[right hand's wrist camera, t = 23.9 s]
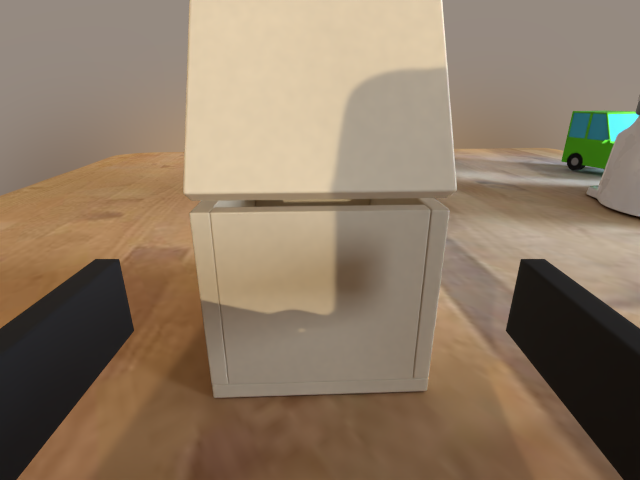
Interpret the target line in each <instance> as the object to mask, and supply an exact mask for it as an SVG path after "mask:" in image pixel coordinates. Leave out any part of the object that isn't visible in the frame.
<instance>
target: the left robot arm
mask: <svg viewBox="0 0 640 480" xmlns="http://www.w3.org/2000/svg"><path fill="white" fill-rule="evenodd" d="M638 101H639V102H638V106H637V109H636V114H637V115H639V116H638V118H637V119H636V120H635V122H634V123H633V124H632V125H631V126H630V127H628V128H627V129H625V130H623V131H622V132H620V133H619V134H618V135H617V137H616V140H615V142H614V145H613V148H612V151H611V153H610V156H609V159H608V162H607V164H606V167H605V170H604V173H603V176H602V178H601V181H600V184H599V185H598V186H590V187H589V188H588V190H587V193H586V194H588V195H590V196H592V197H595V198H597V199H598V201H599V202H600V203H601V204H603V205H604V206H607V207H609V208H611V209H614V210H617V211H620V212H623V213H627V214H631V215H635V216H639V217H640V96H639V99H638Z"/></svg>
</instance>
